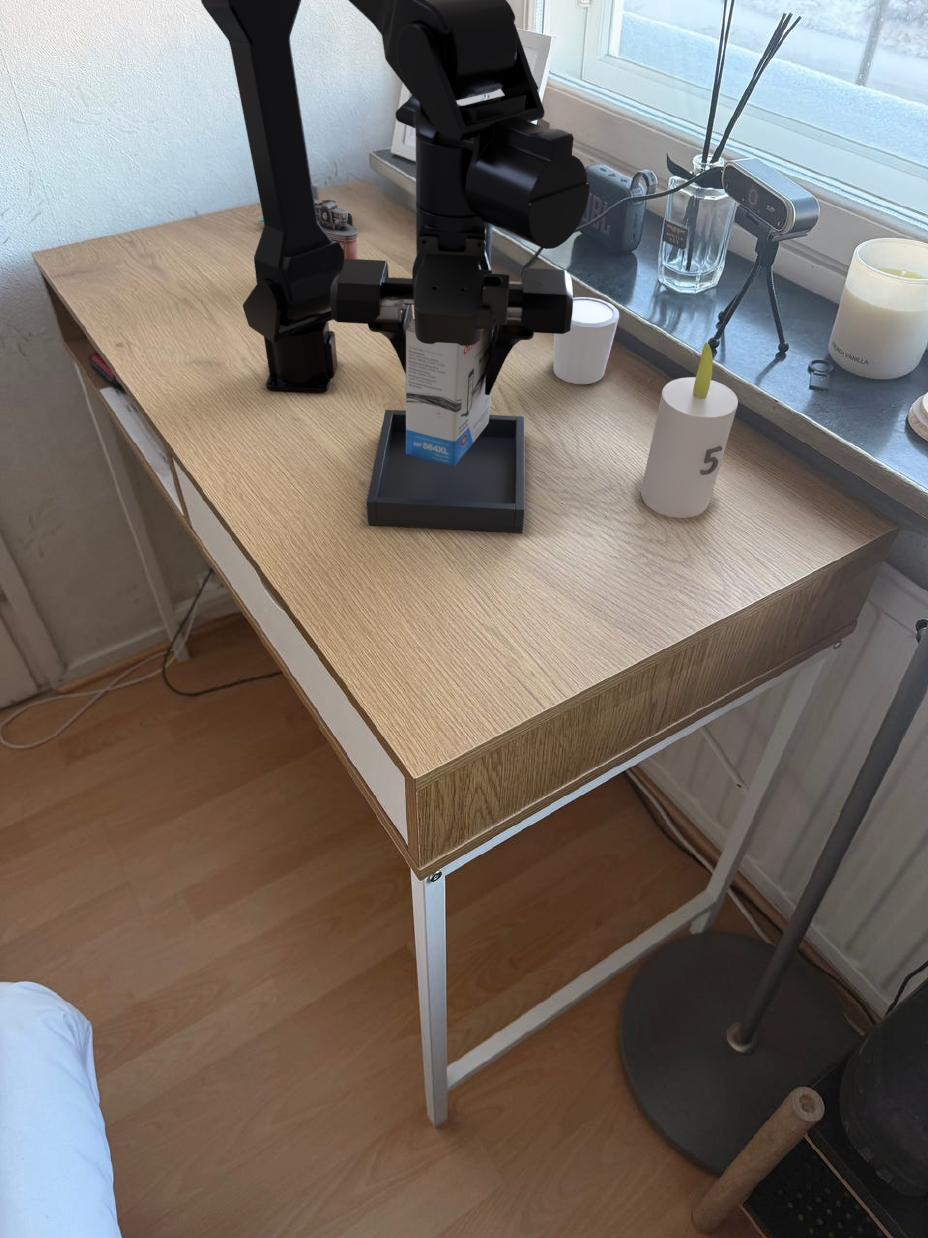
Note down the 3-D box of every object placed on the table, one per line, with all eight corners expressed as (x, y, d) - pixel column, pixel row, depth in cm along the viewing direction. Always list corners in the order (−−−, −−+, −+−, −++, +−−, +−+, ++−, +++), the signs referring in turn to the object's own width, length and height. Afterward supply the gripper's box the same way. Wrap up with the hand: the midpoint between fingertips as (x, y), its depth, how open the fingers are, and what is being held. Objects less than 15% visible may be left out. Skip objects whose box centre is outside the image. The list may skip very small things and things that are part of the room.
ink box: (454, 470, 75) (461, 342, 66) (402, 454, 76) (403, 327, 68) (491, 421, 80) (502, 299, 72) (442, 408, 82) (448, 285, 73)
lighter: (367, 289, 108) (362, 206, 101) (350, 299, 106) (344, 215, 99) (316, 272, 111) (309, 190, 104) (299, 282, 109) (290, 199, 102)
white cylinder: (607, 390, 93) (617, 329, 88) (543, 382, 94) (550, 321, 89) (612, 359, 98) (622, 299, 93) (551, 351, 99) (558, 292, 94)
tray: (367, 525, 76) (366, 501, 74) (386, 431, 87) (385, 409, 85) (522, 533, 76) (524, 509, 74) (522, 438, 86) (524, 416, 84)
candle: (667, 526, 77) (705, 375, 67) (627, 485, 81) (657, 336, 71) (724, 508, 79) (770, 359, 68) (683, 469, 83) (720, 322, 73)
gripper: (309, 241, 58) (328, 438, 69) (587, 255, 58) (561, 450, 69) (334, 180, 66) (348, 366, 77) (580, 192, 66) (558, 377, 77)
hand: (450, 390), depth 75 cm, fingers closed on ink box, 6 cm apart
